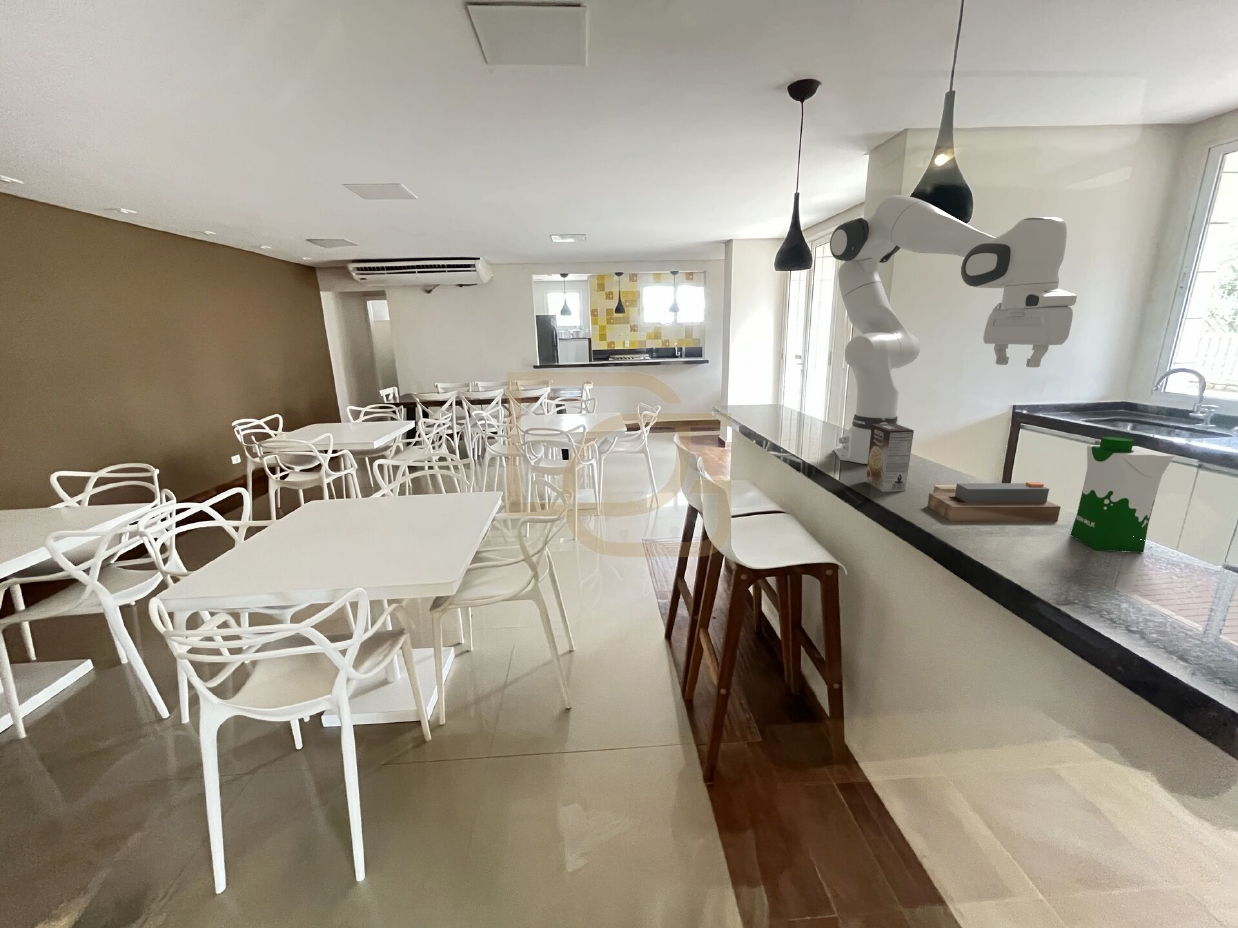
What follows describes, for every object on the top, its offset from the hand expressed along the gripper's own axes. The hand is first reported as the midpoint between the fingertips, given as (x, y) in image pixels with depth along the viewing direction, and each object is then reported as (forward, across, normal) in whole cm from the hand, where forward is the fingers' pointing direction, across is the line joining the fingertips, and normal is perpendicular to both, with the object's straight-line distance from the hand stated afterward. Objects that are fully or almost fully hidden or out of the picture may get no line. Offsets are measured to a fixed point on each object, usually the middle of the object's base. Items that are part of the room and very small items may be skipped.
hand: (1016, 366), depth 105 cm
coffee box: (+31, -10, -20) cm, 38 cm away
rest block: (+31, -2, -8) cm, 32 cm away
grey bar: (+30, +10, -5) cm, 32 cm away
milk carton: (+31, +25, +4) cm, 40 cm away
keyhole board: (+31, +10, -7) cm, 33 cm away
